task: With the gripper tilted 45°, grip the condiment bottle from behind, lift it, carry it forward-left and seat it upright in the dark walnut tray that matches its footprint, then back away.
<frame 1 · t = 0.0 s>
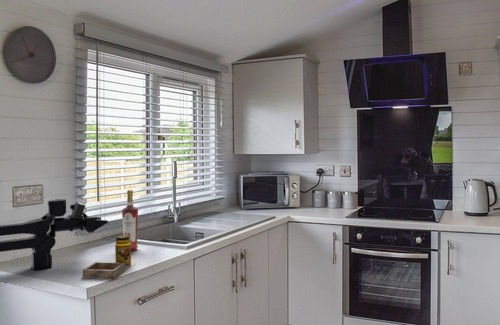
hand: (104, 220, 193), 17 cm above the worktop, tool horizontal, fingers open, 9 cm apart
walnut tray: (104, 274, 170), on the worktop
liquor: (130, 250, 209), on the worktop
condiment: (121, 266, 182), on the worktop
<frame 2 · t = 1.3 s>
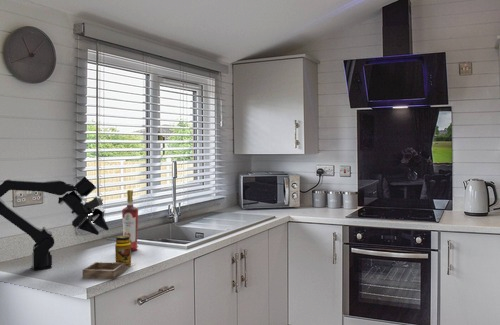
hand: (103, 231, 182), 14 cm above the worktop, tool tilted 45°, fingers open, 9 cm apart
nothing on the worktop moved.
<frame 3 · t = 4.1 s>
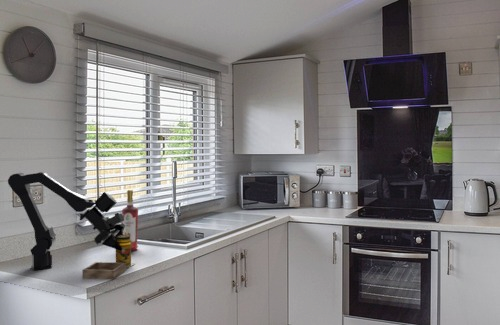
hand: (124, 248, 181), 7 cm above the worktop, tool tilted 45°, fingers closed on condiment, 6 cm apart
condiment: (121, 265, 182), on the worktop, touching gripper
everything else where it was.
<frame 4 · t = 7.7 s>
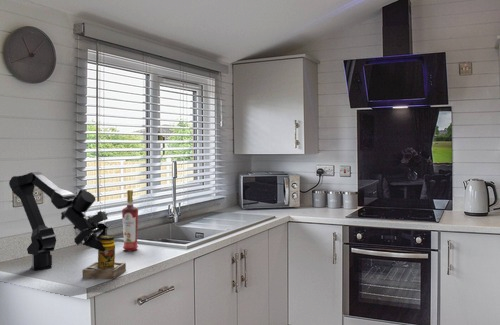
hand: (108, 248, 169), 10 cm above the worktop, tool tilted 45°, fingers closed on condiment, 6 cm apart
condiment: (104, 267, 170), point 2 cm above the worktop, touching gripper, walnut tray
everything else where it was.
when the fingers open (10 cm above the worktop, at t = 8.0 s): condiment stays where it is, resting on walnut tray.
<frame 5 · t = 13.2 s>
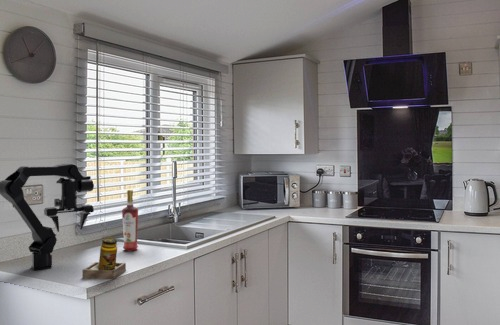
hand: (69, 230, 189), 13 cm above the worktop, tool pointing down, fingers open, 9 cm apart
condiment: (104, 269, 171), point 2 cm above the worktop, touching walnut tray
everything else where it was.
at the end: condiment 0.8 cm off-centre on the walnut tray, point 1.7 cm above the walnut tray's base; condiment tilted 12°; the gripper is holding nothing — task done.
